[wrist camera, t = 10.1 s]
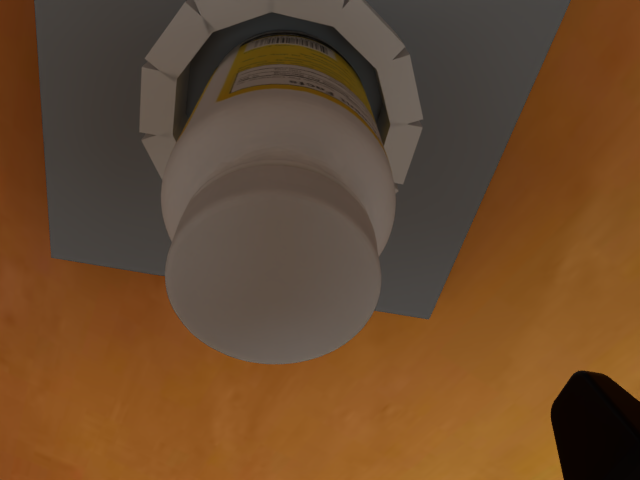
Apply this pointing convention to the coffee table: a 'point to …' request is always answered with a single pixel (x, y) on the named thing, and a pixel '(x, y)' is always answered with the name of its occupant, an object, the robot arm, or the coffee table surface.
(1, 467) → the coffee table surface
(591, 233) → the coffee table surface
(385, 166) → the supplement bottle
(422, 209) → the mount plate
